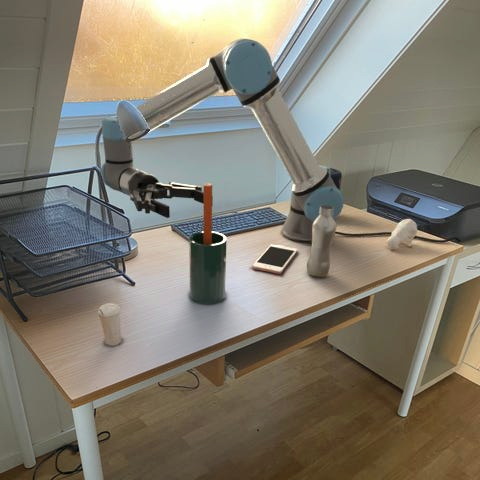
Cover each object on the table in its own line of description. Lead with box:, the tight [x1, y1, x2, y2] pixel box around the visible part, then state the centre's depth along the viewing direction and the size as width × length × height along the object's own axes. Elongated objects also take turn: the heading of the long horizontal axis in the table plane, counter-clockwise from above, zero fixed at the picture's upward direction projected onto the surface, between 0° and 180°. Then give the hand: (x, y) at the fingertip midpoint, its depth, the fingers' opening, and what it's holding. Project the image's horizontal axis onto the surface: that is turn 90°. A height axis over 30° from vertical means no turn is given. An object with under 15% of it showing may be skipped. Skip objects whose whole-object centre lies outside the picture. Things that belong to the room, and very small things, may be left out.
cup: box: [188, 231, 227, 305], centre depth 120 cm, size 9×9×16 cm
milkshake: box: [97, 302, 122, 347], centre depth 102 cm, size 5×5×10 cm
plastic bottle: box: [306, 205, 337, 278], centre depth 132 cm, size 6×7×20 cm
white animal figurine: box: [386, 218, 418, 250], centre depth 156 cm, size 6×8×12 cm
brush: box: [202, 183, 213, 245], centre depth 116 cm, size 5×5×28 cm
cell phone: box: [251, 243, 298, 275], centre depth 144 cm, size 9×18×1 cm, turn 158°
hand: (190, 206), depth 116 cm, fingers open, 13 cm apart
